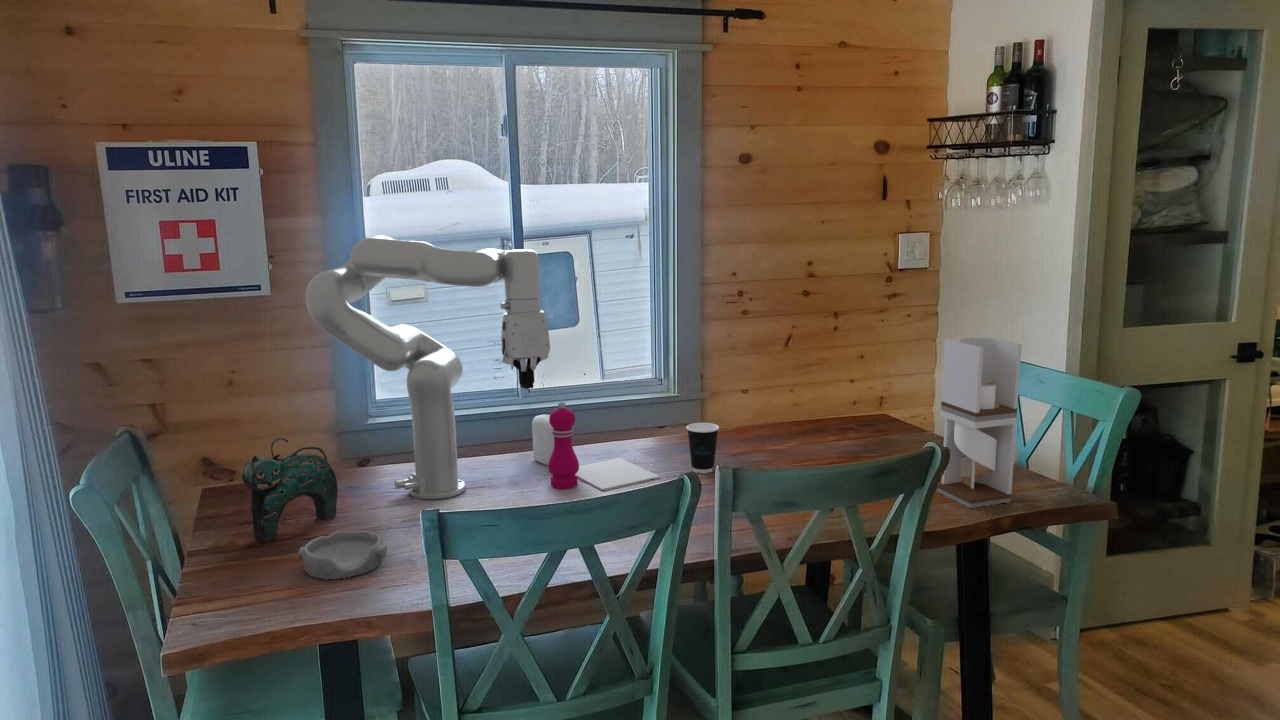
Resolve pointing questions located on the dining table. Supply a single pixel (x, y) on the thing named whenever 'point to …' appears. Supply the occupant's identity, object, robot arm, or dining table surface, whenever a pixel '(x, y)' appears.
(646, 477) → the mat
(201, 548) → the dining table surface
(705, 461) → the dixie cup
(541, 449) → the photo printer
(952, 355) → the architectural model tower
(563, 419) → the pepper mill
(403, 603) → the dining table surface
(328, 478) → the ceramic cat
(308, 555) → the dish
